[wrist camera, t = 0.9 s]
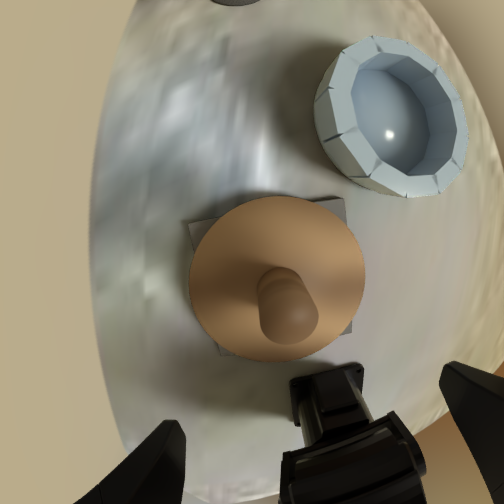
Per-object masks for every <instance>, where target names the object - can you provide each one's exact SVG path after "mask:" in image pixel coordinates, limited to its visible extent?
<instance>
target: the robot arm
mask: <svg viewBox="0 0 504 504" xmlns="http://www.w3.org/2000/svg"><path fill="white" fill-rule="evenodd" d="M357 369H359V370H357ZM363 377H364V367H363V366H362V364H356V365H352V366H348V367H344V368H340V369H336V370H332V371H328V372H323V373H319V374H314V375H310V376H305V377H300V378H294V379H292V380H290V382H289V387H290V395H291V402H292V410H293V418H294V424H295V426H297V427H300V426H301V429H302V434H303V438H304V443H305V447H304V448H301V449H298V450H294V451H287V452H283V461H281V478H280V496H279V500H278V504H427V501H426V497H425V494H424V489H423V486H422V482H421V479H420V478H421V477H422V476H424V475H425V474H426V464H425V460H424V457H423V454H422V451H421V449H420V447H419V445H418V443H417V441H416V440H415V438H414V437H413V436H412V434H411V433H410V432H409V430H408V429H407V428H406V426H405V425H404V424H403V422H402V421H401V420H400V418H399V417H398V416H397V414H396V413H395V412H394V411H391V412H389V413H387V415H386V416H383V417H381V418H379V419H377V420H375V421H374V420H373V418H372V415H371V413H370V411H369V409H368V407H367V405H366V403H365V401H364V399H363V397H362V387H363ZM293 384H296V385H293ZM439 387H440V389H441V392H442V394H443V396H444V398H445V401H446V403H447V405H448V408H449V410H450V412H451V415H452V417H453V419H454V421H455V423H456V425H457V426H458V428H459V430H460V432H461V434H462V436H463V437H464V440H465V441H466V443H467V445H468V447H469V449H470V451H471V453H472V455H473V457H474V459H475V461H476V463H477V465H478V467H479V469H480V472H481V474H482V476H483V479H484V481H485V483H486V485H487V488H488V490H489V492H490V494H491V498H492V500H493V503H494V504H504V378H503V377H500V376H497V375H494V374H491V373H488V372H485V371H482V370H479V369H476V368H474V367H471V366H468V365H465V364H462V363H460V362H457V361H451V362H449V363H447V364H445V365H444V367H443V369H442V373H441V376H440V380H439ZM185 461H186V436H185V433H184V432H183V430H182V428H181V426H180V424H179V422H178V421H177V420H164V421H163V422H162V423H161V424H160V425H159V426H158V427H157V428H156V429H155V430H154V431H153V432H152V433H151V434H150V435H149V436H148V437H147V438H146V439H145V440H144V441H143V442H142V443H141V444H140V445H139V446H138V447H137V448H136V449H135V450H134V451H133V452H132V453H130V454H129V455H128V456H127V457H126V458H125V459H124V460H123V461H122V462H121V463H120V464H119V465H118V466H117V467H116V468H115V469H114V470H113V471H112V472H110V473H109V474H108V475H107V476H106V477H105V478H104V479H103V480H102V481H101V482H100V483H99V484H97V485H96V486H95V487H94V488H93V489H92V490H90V491H89V492H88V493H87V494H86V495H84V496H83V497H82V498H81V499H79V500H78V501H76V502H75V503H73V504H181V501H182V495H183V488H184V481H185Z"/></svg>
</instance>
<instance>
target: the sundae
mask: <svg viewBox="0 0 504 504" xmlns="http://www.w3.org/2000/svg"><path fill="white" fill-rule="evenodd" d="M213 1H215V2H217V3H220V4H224V5H232V6H242V5H247V4H251V3H255V2H257V1H259V0H213Z"/></svg>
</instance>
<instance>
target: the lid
mask: <svg viewBox="0 0 504 504" xmlns="http://www.w3.org/2000/svg"><path fill="white" fill-rule="evenodd" d="M364 285H365V267H364V260H363V256H362V252H361V250H360V247H359V245H358V242H357V240H356V239H355V237H354V235H353V233H352V232H351V231H350V229H349V228H348V227H347V226H346V224H345V223H344V222H343V221H342V220H341V219H340V218H338V217H337V216H336V215H335V214H333V213H332V212H331V211H329V210H328V209H326V208H324V207H322V206H320V205H318V204H316V203H313V202H310V201H307V200H304V199H301V198H296V197H290V196H271V197H263V198H259V199H255V200H251V201H249V202H246V203H244V204H241V205H239V206H237V207H236V208H234V209H232V210H230V211H229V212H228V213H226V214H225V215H223V216H222V217H221V218H220V219H219V220H218V221H217V222H216V223H215V224H214V225H213V226H212V227H211V228H210V229H209V231H208V232H207V233H206V234H205V236H204V237H203V239H202V240H201V242H200V244H199V246H198V247H197V249H196V252H195V254H194V257H193V260H192V264H191V268H190V274H189V294H190V299H191V304H192V306H193V309H194V312H195V315H196V316H197V318H198V320H199V322H200V324H201V325H202V327H203V328H204V330H205V331H206V332H207V333H208V334H209V335H210V337H211V338H212V339H213V340H215V341H216V342H217V343H218V344H219V345H221V346H222V347H224V348H225V349H227V350H228V351H230V352H232V353H234V354H236V355H238V356H241V357H244V358H247V359H250V360H255V361H261V362H285V361H291V360H296V359H300V358H303V357H306V356H308V355H311V354H313V353H315V352H317V351H319V350H321V349H322V348H324V347H325V346H327V345H328V344H330V343H331V342H332V341H333V340H335V339H336V338H337V337H338V336H339V335H340V334H341V333H342V332H343V331H344V330H345V328H346V327H347V326H348V325H349V323H350V322H351V320H352V319H353V317H354V315H355V314H356V312H357V309H358V307H359V305H360V302H361V299H362V296H363V291H364Z"/></svg>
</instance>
